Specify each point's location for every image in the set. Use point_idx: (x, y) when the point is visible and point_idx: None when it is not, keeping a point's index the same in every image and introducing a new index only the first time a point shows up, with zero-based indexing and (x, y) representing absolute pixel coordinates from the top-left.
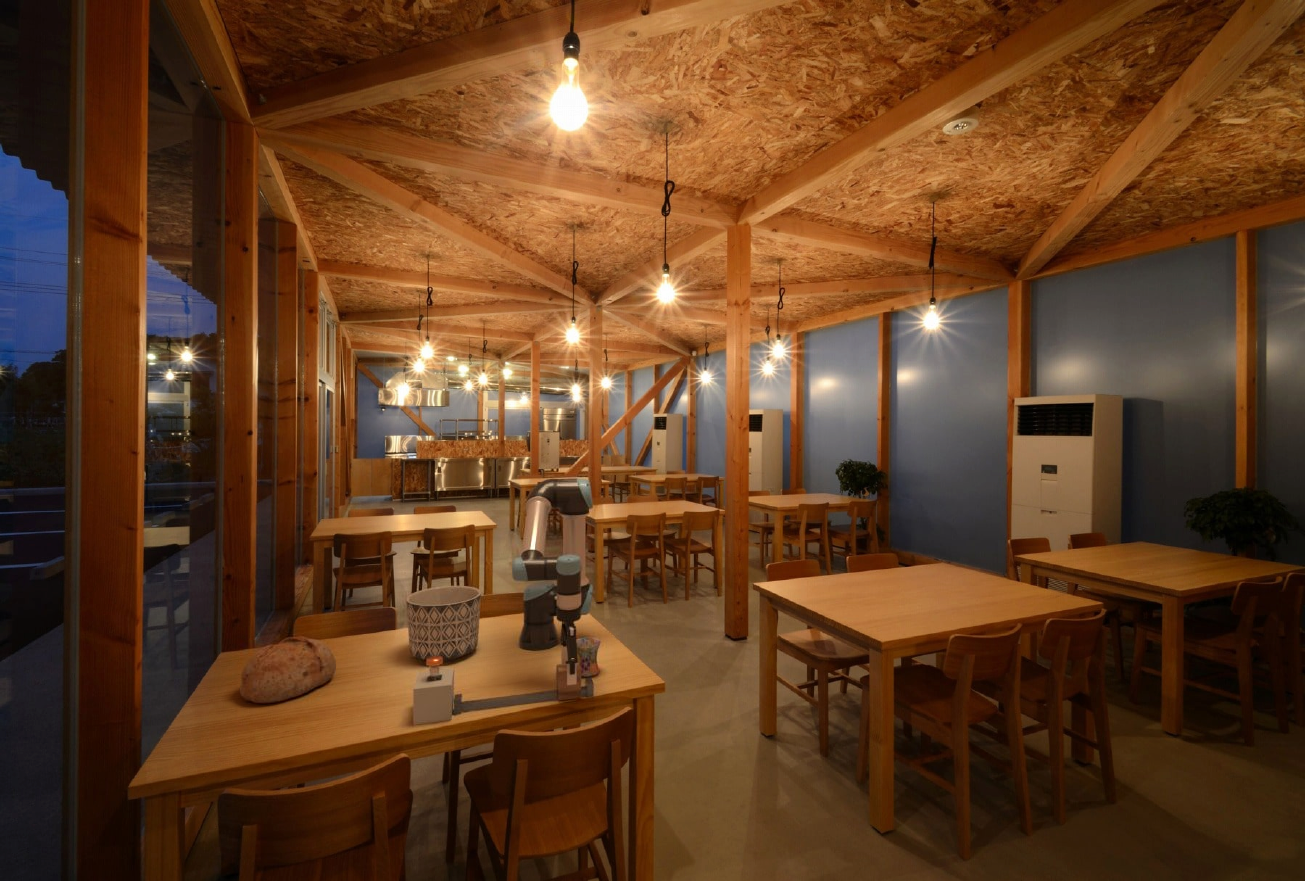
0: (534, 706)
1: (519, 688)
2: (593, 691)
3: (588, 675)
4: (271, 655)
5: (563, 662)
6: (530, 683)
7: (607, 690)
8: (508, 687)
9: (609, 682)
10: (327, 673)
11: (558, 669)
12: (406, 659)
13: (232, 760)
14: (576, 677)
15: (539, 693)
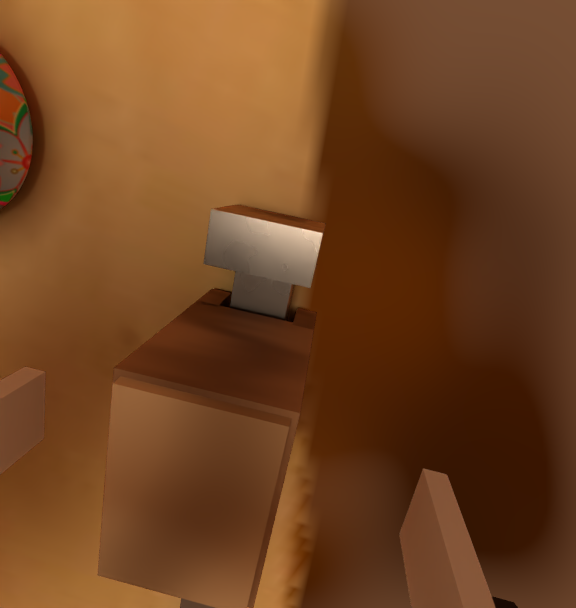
0: (280, 544)
1: (56, 533)
2: (324, 228)
3: (30, 145)
4: None
5: (8, 453)
6: (15, 475)
7: (288, 89)
8: (30, 566)
9: (164, 13)
10: None
11: (213, 602)
12: None
13: None
14: (464, 524)
15: None
